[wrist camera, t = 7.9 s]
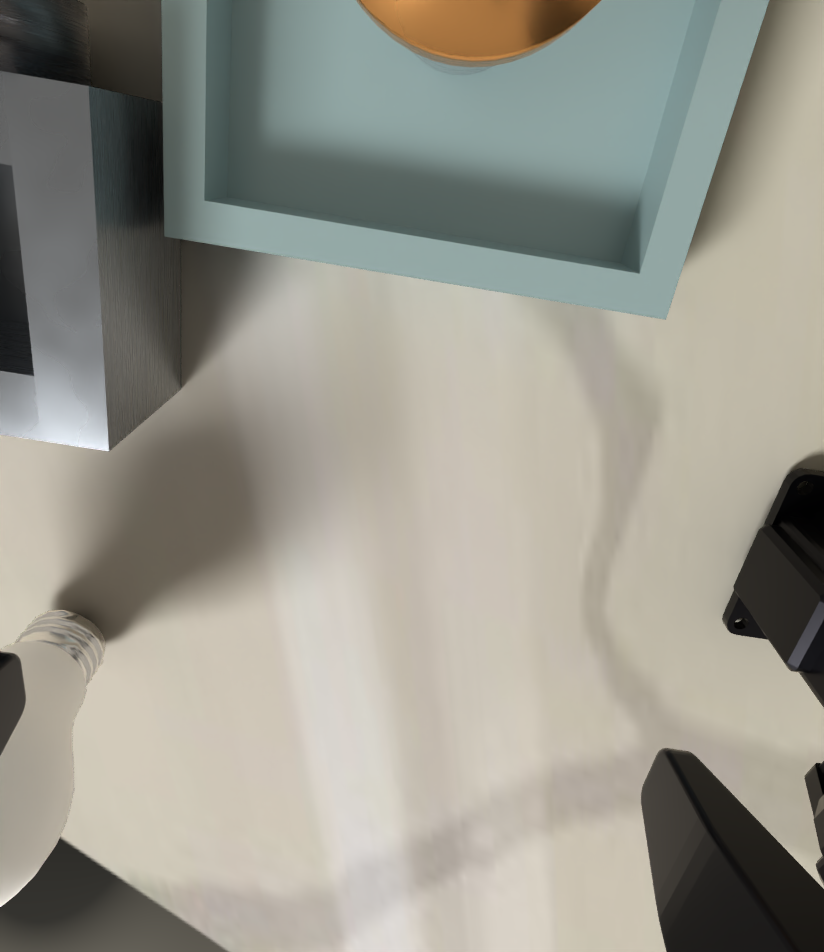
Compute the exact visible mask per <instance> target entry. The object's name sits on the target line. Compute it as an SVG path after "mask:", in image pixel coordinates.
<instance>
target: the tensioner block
mask: <svg viewBox="0 0 824 952" xmlns="http://www.w3.org/2000/svg"><path fill="white" fill-rule="evenodd" d="M180 390H181V239H177V238H171V237H165V236H164V170H163V102H158V101H154V100H149V99H145V98H140V97H136V96H131V95H127V94H122V93H118V92H113V91H109V90H104V89H100V88H95V87H91V74H90V56H89V37H88V19H87V7H86V6H85V5H84V4H83V3H81V2H80V1H78V0H0V435H6V436H13V437H19V438H26V439H32V440H39V441H45V442H51V443H58V444H64V445H71V446H77V447H83V448H90V449H96V450H103V451H110V450H111V449H112V448H114V447H115V446H116V445H117V444H118V443H119V442H121V441H122V440H123V439H124V438H125V437H126V436H127V435H129V434H130V433H131V432H132V431H133V430H134V429H136V428H137V427H138V426H139V425H140V424H141V423H143V422H144V421H145V420H146V419H147V418H148V417H149V416H151V415H152V414H153V413H154V412H155V411H156V410H158V409H159V408H160V407H161V406H162V405H163V404H165V403H166V402H167V401H168V400H169V399H170V398H172V397H173V396H174V395H175V394H176V393H177V392H178V391H180Z"/></svg>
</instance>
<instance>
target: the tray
mask: <svg viewBox="0 0 824 952" xmlns="http://www.w3.org/2000/svg"><path fill="white" fill-rule="evenodd" d="M768 3H769V0H601V1H600V2H599V3H598V4H597V5H596V6H595V7H594V8H593V9H592V10H591V11H590V12H589V13H588V14H587V15H586V16H585V17H584V18H583V19H582V20H581V21H580V22H578V23H577V24H576V25H575V26H574V27H573V28H572V29H571V30H570V31H569V32H567V33H566V34H565V35H563V36H562V37H560V38H559V39H558V40H556V41H555V42H553V43H552V44H550V45H549V46H547V47H545V48H543V49H541V50H539V51H538V52H536V53H534V54H532V55H530V56H527V57H524V58H521V59H519V60H516V61H513V62H510V63H505V64H500V65H496V66H494V67H492V68H490V69H488V70H486V71H483V72H480V73H476V74H472V75H450V74H447V73H443V72H440V71H437V70H435V69H433V68H431V67H429V66H428V65H426V64H425V63H423V62H422V61H421V60H420V59H419V58H417V57H416V56H415V55H414V54H413V52H412V51H410V50H409V49H407V48H405V47H404V46H402V45H401V44H399V43H397V42H396V41H394V40H393V39H392V38H391V37H390V36H388V35H387V34H386V33H385V32H384V31H382V30H381V29H380V28H379V27H378V26H377V25H376V24H375V23H374V22H373V21H372V20H371V19H370V17H369V16H368V15H367V14H366V13H365V12H364V11H363V10H362V8H361V7H360V5H359V4H358V3H357V1H356V0H161V18H162V94H163V170H164V236H165V237H171V238H177V239H183V240H189V241H195V242H201V243H207V244H213V245H219V246H225V247H231V248H237V249H243V250H249V251H255V252H261V253H267V254H273V255H279V256H285V257H291V258H298V259H304V260H310V261H316V262H322V263H328V264H334V265H340V266H346V267H352V268H358V269H364V270H370V271H376V272H382V273H388V274H394V275H400V276H406V277H412V278H418V279H424V280H430V281H436V282H442V283H448V284H454V285H460V286H466V287H472V288H478V289H484V290H490V291H497V292H503V293H509V294H515V295H521V296H527V297H533V298H539V299H545V300H551V301H557V302H563V303H569V304H575V305H581V306H587V307H593V308H599V309H605V310H611V311H617V312H623V313H629V314H635V315H641V316H647V317H653V318H659V319H665V320H666V317H667V314H668V311H669V308H670V305H671V302H672V299H673V296H674V293H675V290H676V286H677V283H678V280H679V277H680V274H681V271H682V268H683V265H684V262H685V259H686V256H687V253H688V249H689V246H690V243H691V240H692V237H693V234H694V231H695V228H696V225H697V222H698V219H699V216H700V212H701V209H702V206H703V203H704V200H705V197H706V194H707V191H708V188H709V185H710V182H711V179H712V175H713V172H714V169H715V166H716V163H717V160H718V157H719V154H720V151H721V148H722V145H723V142H724V138H725V135H726V132H727V129H728V126H729V123H730V120H731V117H732V114H733V111H734V108H735V105H736V101H737V98H738V95H739V92H740V89H741V86H742V83H743V80H744V77H745V74H746V71H747V68H748V64H749V61H750V58H751V55H752V52H753V49H754V46H755V43H756V40H757V37H758V34H759V31H760V28H761V24H762V21H763V18H764V15H765V12H766V9H767V6H768Z"/></svg>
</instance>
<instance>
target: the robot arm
mask: <svg viewBox="0 0 824 952" xmlns="http://www.w3.org/2000/svg"><path fill="white" fill-rule="evenodd" d="M804 481H807V484H806V485H805V487H803V488H802V489H797V487H798V485H799V484H800V483H802V482H804ZM739 618H743V619H742V620H741V621H739V622H735V621H736V620H737V619H739ZM722 619H723V623H724V624H725V626H726V628H727V629H728V630H729V631H730V632H731V633H733V634H736V635H742V636H749V637H755V638H762V639H768V640H769V641H770V643H771V644H772V646H773V647H774V648H775V650H776V651H777V653H778V654H779V656H780V657H781V659H782V660H783V662H784V663H785V664H786V666H787V667H788V669H789V670H791V671H794V672H799V673H800V675H801V676H802V677H803V679H804V680H805V682H806V683H807V685H808V686H809V687H810V689H811V690H812V692H813V693H814V694H815V696H816V697H817V699H818V700H819V702H820V703H821V704H822V706H823V707H824V472H822V471H815V470H809V469H798V470H795V471H793V472H791V473H790V474H789V475H787V477H786V478H785V480H784V482H783V484H782V486H781V488H780V490H779V493H778V495H777V497H776V499H775V501H774V504H773V506H772V508H771V510H770V512H769V515H768V517H767V519H766V521H765V523H764V526H763V527H762V528H760V529H759V531H758V533H757V535H756V538H755V540H754V542H753V544H752V546H751V549H750V551H749V553H748V555H747V558H746V560H745V562H744V564H743V566H742V569H741V571H740V573H739V575H738V577H737V580H736V582H735V584H734V592H733V594H732V596H731V598H730V601H729V603H728V605H727V607H726V609H725V612H724V614H723V618H722ZM25 704H26V692H25V685H24V678H23V671H22V664H21V660H20V658H19V656H18V655H17V654H14V653H10V652H3V651H0V756H1V754H2V752H3V750H4V748H5V746H6V744H7V743H8V741H9V739H10V737H11V735H12V733H13V731H14V729H15V727H16V726H17V724H18V722H19V720H20V718H21V716H22V714H23V711H24V708H25ZM805 781H806V786H807V790H808V794H809V798H810V802H811V806H812V811H813V815H814V823H815V828H816V832H817V837H818V841H819V846H820V850H821V853H822V855H823V856H822V857H821V858H820V859H819V860H818V861H817V863H816V867H817V871H818V874H819V876H820V879H821V881H822V883H823V885H824V761H823V762H822V763H821V764H820V763H816V764H815V765H814V766H813V767H812V768H811V769H810V770H809V771H808V773H807V774H806V775H805ZM641 805H642V812H643V819H644V825H645V832H646V839H647V846H648V852H649V859H650V866H651V873H652V879H653V886H654V893H655V899H656V905H657V911H658V917H659V922H660V926H661V930H662V935H663V939H664V943H665V947H666V951H667V952H824V889H823V888H822V887H821V886H820V885H819V884H818V883H817V882H816V881H815V880H814V879H813V877H812V876H811V875H810V874H809V873H808V872H807V871H806V870H805V869H804V868H803V867H802V866H801V865H800V864H799V863H798V862H797V861H796V860H795V859H794V858H793V857H792V856H791V855H790V854H789V853H788V851H787V850H786V849H785V848H784V847H783V846H782V845H781V844H780V843H779V842H778V841H777V840H776V839H775V838H774V837H773V836H772V835H771V834H770V833H769V832H768V831H767V830H766V829H765V828H764V827H763V825H762V824H761V823H760V822H759V821H758V820H757V819H756V818H755V817H754V816H753V815H752V814H751V813H750V812H749V811H748V810H747V809H746V808H745V807H744V806H743V805H742V804H741V803H740V802H739V801H738V799H737V798H736V797H735V796H734V795H733V794H732V793H731V792H730V791H729V790H728V789H727V788H726V787H725V786H724V785H723V784H722V783H721V782H720V781H719V780H718V779H717V778H716V777H715V776H714V775H713V773H712V772H711V771H710V770H709V769H708V768H707V767H706V766H705V765H704V764H703V763H702V762H701V761H700V760H699V759H698V758H697V757H696V756H695V755H694V754H692V753H691V752H688V751H683V750H676V749H669V748H663V749H661V750H660V751H659V752H658V754H657V755H656V758H655V760H654V762H653V764H652V766H651V769H650V771H649V773H648V775H647V778H646V780H645V782H644V784H643V787H642V792H641Z"/></svg>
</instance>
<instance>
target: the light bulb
mask: <svg viewBox="0 0 824 952" xmlns="http://www.w3.org/2000/svg"><path fill="white" fill-rule="evenodd" d="M105 645H106V643H105V640H104V638H103V635H102V632H101V631H100V630H99V629H98V628H97V627H96V626H95V625H94V623H93V622H91V621H89V620H88V619H86V618H84V617H83V616H81V615H79V614H76V613H73V612H70V611H67V610H52V611H47V612H45V613H43V614H41V615H39V616H37V617H35V619H34V620H33V621H32V623H31V624H29V625H28V626H27V628H26V629H25V631H23V632H22V633H21V634H20V636H19V637H18V638H17V640H16V641H15V643H13V644H10V645H7V646H5V647H4V648H2V649H0V651H3V652H10V653H14V654H17V655H18V656H19V658H20V660H21V664H22V671H23V678H24V685H25V692H26V704H25V708H24V711H23V714H22V716H21V718H20V720H19V722H18V724H17V726H16V727H15V729H14V731H13V733H12V735H11V737H10V739H9V741H8V743H7V744H6V746H5V748H4V750H3V752H2V754H1V756H0V907H1V906H2V905H3V904H5V903H6V902H7V901H9V900H10V899H11V898H12V897H14V896H15V895H16V894H17V893H18V892H19V891H20V890H21V889H22V888H23V887H24V886H25V885H26V884H27V883H28V882H29V881H30V880H31V879H32V878H33V877H34V876H35V875H36V873H37V872H38V870H39V869H40V867H41V866H42V864H43V863H44V862H45V860H46V858H47V857H48V856H49V854H50V853H51V851H52V850H53V848H54V847H55V846H56V844H57V842H58V840H59V838H60V835H61V833H62V831H63V829H64V827H65V824H66V822H67V818H68V815H69V811H70V807H71V803H72V798H73V794H74V760H73V745H72V731H73V725H74V720H75V717H76V715H77V713H78V711H79V709H80V707H81V705H82V704H83V701H84V698H85V694H86V691H87V690H86V686H87V684H88V683H89V682H90V681H91V680H92V677H93V676H94V675H95V673H96V672H97V670H98V668H99V667H100V666H101V665H102V663H103V657H104V652H105Z"/></svg>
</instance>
